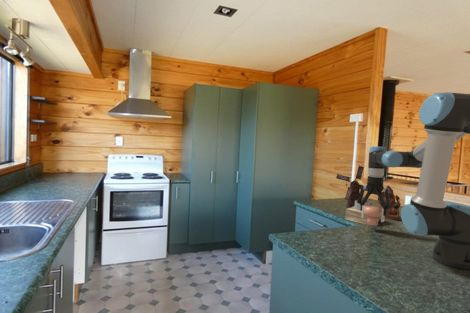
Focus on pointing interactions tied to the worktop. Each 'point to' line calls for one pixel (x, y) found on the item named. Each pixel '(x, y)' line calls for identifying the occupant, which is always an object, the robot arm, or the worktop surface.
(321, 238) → the worktop surface
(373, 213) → the pink mushroom-shaped knob
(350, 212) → the square wooden block
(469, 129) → the robot arm
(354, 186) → the miniature windmill
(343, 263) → the worktop surface
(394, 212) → the sculpture
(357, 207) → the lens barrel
